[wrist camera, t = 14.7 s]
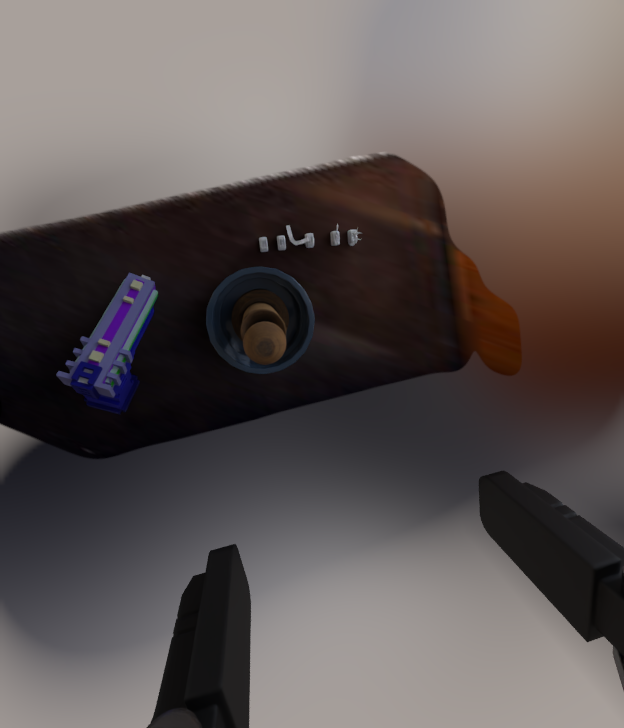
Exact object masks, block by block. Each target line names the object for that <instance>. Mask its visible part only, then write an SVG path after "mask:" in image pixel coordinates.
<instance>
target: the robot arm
mask: <svg viewBox="0 0 624 728" xmlns="http://www.w3.org/2000/svg"><path fill="white" fill-rule="evenodd" d="M0 415H1V402H0ZM479 498H480V499H479V501H480V517H481V521H482V523H483V525H484V528H485V529H486V531H487V533H488V534H489V535H490V536H491V538H492V539H493V540H494V541H495V542H496V543H497V544H498V545H499V546H500V547H501V548H502V550H503V551H504V552H505V553H506V554H507V555H508V556H509V557H510V558H511V559H512V560H513V562H514V563H515V564H516V565H517V566H518V567H519V568H520V569H521V570H522V571H523V572H524V574H525V575H526V576H527V577H528V578H529V579H530V580H531V581H532V582H533V583H534V584H535V586H536V587H537V588H538V589H539V590H540V591H541V592H542V593H543V594H544V595H545V597H546V598H547V599H548V600H549V601H550V602H551V603H552V604H553V605H554V606H555V607H556V608H557V610H558V611H559V612H560V613H561V614H562V615H563V616H564V617H565V618H566V619H567V621H569V623H570V624H571V625H572V626H573V627H574V628H575V629H576V630H577V632H578V633H579V634H580V635H581V636H582V637H583V638H584V639H585V640H586V641H587V642H589V641H592V640H595V639H598V638H600V637H603V636H604V637H605V638H606V639H607V640H608V641H609V642H610V643H611V644H612V645H613V655H614V660H615V663H616V667H617V670H618V673H619V677H620V680H621V683H622V687H623V690H624V548H623V547H622V546H621V545H619V544H618V543H617V542H615V541H614V540H613V539H611V538H610V537H608V536H607V535H606V534H604V533H603V532H602V531H600V530H599V529H597V528H596V527H595V526H593V525H592V524H591V523H589V522H588V521H586V520H585V519H584V518H582V517H581V516H579V515H578V516H577V515H576V513H575V512H574V511H573V510H571V509H570V508H569V507H567V506H566V505H563V504H562V502H560V501H559V500H558V499H556V498H555V497H554V496H552V495H551V494H549V493H548V492H547V491H545V490H542V489H540V488H538V487H536V486H533V485H531V484H529V483H521V482H519V481H518V480H517V479H515V478H514V477H513V476H512V475H510V474H509V473H507V472H505V471H500V472H496V473H493V474H489V475H485V476H482V477H480V479H479ZM177 616H178V618H177V619H176V623H175V627H174V632H173V634H174V636H173V637H172V640H171V644H170V649H169V653H168V657H167V662H166V666H165V670H164V674H163V679H162V683H161V688H160V692H159V696H158V700H157V705H156V709H155V712H154V716H153V718H152V721H151V724H150V725H149V726H148V727H147V728H249V692H250V626H251V600H250V591H249V585H248V581H247V577H246V574H245V571H244V568H243V564H242V561H241V558H240V554H239V551H238V548H237V546H236V544H233V545H229V546H226V547H222V548H219V549H215V550H211V551H210V552H209V556H208V562H207V568H206V573H202V574H199V575H195V576H193V578H192V579H191V581H190V582H189V584H188V586H187V588H186V589H185V591H184V593H183V594H182V597H181V602H180V606H179V610H178V615H177Z"/></svg>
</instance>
